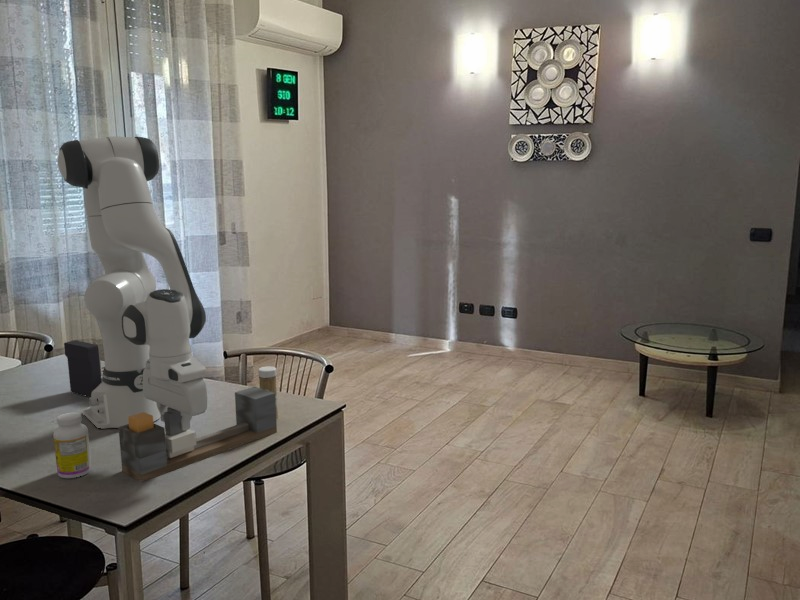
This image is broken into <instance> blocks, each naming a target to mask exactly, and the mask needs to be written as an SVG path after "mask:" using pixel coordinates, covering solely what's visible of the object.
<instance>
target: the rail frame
mask: <svg viewBox="0 0 800 600" xmlns="http://www.w3.org/2000/svg"><path fill="white" fill-rule="evenodd" d="M234 401H235V419H236V420H235V421H236V422H235V423H236V424H235V425H231V426H229V427H226V428H223V429H221V430H217V431H215V432H212V433H211V432H210V433H208V434H206V435H203V436H200V437H196V445H194V450H192V451H189V452H186V453H184V454H181V455H178V456H175V457H172V458H169V457H168V451H167V450H166V442H165V426H164V427H163V426H161V425H159V424H157V423H154V422H153V424H154V428H152V429H148V430H145V431H142V432H139V433H136V432H134V431H132V430H130V429H129V424H127V425H124V426H120V427H119V428H118V435H119V449H120V450H119V451H120V460H121V461H120V462H121V471H122V472H123V473H125V474H127V475H129V476H131V477H132V478H134V479H136V480H138V481H140V482H144V481H147V480H150V479H153V478H155V477H159V476H160V475H164V474H166V473H169V472H171V471H175V470H177V469H180V468H183V467H186V466H188V465H191V464H193V463H195V462H196V463H197V462H199V461H201V460H204V459H208V458H210V457H213V456H215V455H217V454H221V453H224V452H226V451H229V450H231V449H234V448H236V447H237V448H238V447H240V446H242V445H245V444H248V443H251V442H253V441H256V440H259V439H262V438H264V437H268V436H270V435H273V434H276V433H278V428H277V419H276V398H275V393H273V392H270V391H267V390H264V389H261V388H260V387H257V386H252V387H249V388H245V389H242V390H239V391H236V392H234ZM272 433H273V434H272Z"/></svg>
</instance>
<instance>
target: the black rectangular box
mask: <svg viewBox="0 0 800 600" xmlns="http://www.w3.org/2000/svg"><path fill="white" fill-rule="evenodd" d="M99 347H100V346H99V345H98V344H95V343H90V342H86V341H81V340H76V339H75V340H71V341H66V342H64V343H63V348H64V355H65V357H66V358H67V368H68V376H69V377H68V378H69V386H70V387H69V388H70V392H71V391H72V392H75V393H74V394H76V393H78V394H77V395H79V394H82V395H81V396H83V395H86V396H85V397H87V396H89V397H88V398H90V397H91V393H92V391H93V390H94V389H95V388H96V387H97V386H98V385H99V384H100V383H101V382H102V377H103V376H102V374H103V372H102V364H101V363H102V362H101V359H100V348H99ZM72 392H71V393H72Z"/></svg>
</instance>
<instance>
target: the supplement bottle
mask: <svg viewBox="0 0 800 600" xmlns="http://www.w3.org/2000/svg"><path fill="white" fill-rule="evenodd" d="M56 424H57V425H58V427H57V428H55V430H54V431H53V433H52V434H53V445H54V454H55V462H56V463H55V464H56V471H57V475H58V476H59V478H62V479H76V477H77V478H80V476H81V477H83V476H86V475H88V474H89V472H91V470H92V459H91V450H90V439H89V430H88V427H87V426H86V424H83V423H82V414H81V413H80V412H76V411H75V412H66V413H63V414H59V415H57V417H56Z"/></svg>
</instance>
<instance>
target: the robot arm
mask: <svg viewBox="0 0 800 600" xmlns="http://www.w3.org/2000/svg"><path fill="white" fill-rule="evenodd" d="M160 160H161V159H160V154H159V151H158V148H157V146H156V144H155V143H154V142H153V141H152V140H151V138H148V137H143V136H137V135H136V136H134V137H129V136H106V137H96V138H90V139H82V140H79V139H74V140H70V141H66V142H64V143H63V142H62V144H61V146H60V147H59V153H58V155H57V167H58V170H59V172H60V174H61V176H62V177H63V180H64V182H66V183H67V184H69V186H72V187H76V188H77V187H78V188H83V189H84V205H85V216H86V222H87V229H88V234H89V239H90V240H89V241H90V246H91V249H92V250H93V251H94V253H96V255H97V257H98V259H99V261H100V263H101V266H102V268H103V271H104V274H101V275H100V276H98V277H96V278H95V279H93V281H92V282H91V283H90V284H89V285H88V286H87V287H86V289H85V291H84V294H83V295H84V296H83V297H84V299H83V300H84V304H85V307H86V309H87V311H89V313H90V314H91V315H92V316H93V317H94V319H95V321H96V324H97V327H98V329H99V332H100V337H101V340H102V348H103V361H104V366H103V367H101V372H102V376H101V378H102V382H101V383H100V384H99V385H98V386H97V387H96V388H95V389H94V390H93V391H92V393H91V398H90V397H88V403H89V406H88V407H86V408H84V409H82V413H83V414H82V415H83V416H84V415H85V416H86V417H87V418H88V419H89V420H90V421H91V422H92V423H93V424H94V425H95V426H96V427H97V428H96V429H98V428H101V430H102V429H113V428H116V429H119V427H120V426H124V425H127V424H129V420H128V417H129V416H132V415H136V414H139V413H142V412H145V413H147V414H150V415H152V416H153V423H154V422H155V421H158V420H159V419H160V421H161V422H163V423H165V420H164V412H167V408H168V407H170V408H172V409H175V410H177V411H180V412H181V416H182V421H180V422H179V425H180V426H179V428H180V429H182V430H184V431H185V430H188V429H190V430H191V420H192V417H195V416H199V415H202V414H204V413H205V412H206V411H207V409H208V390H207V389H208V388H207V383H206V381H205V378H204V377H206V376H207V369H206V366H204V365H203V364H202V363H200V362H199V361H198V359H197V358H196V357H195V356H194V355H193V353H192V352H193V351H192V349H193V348H192V345H191V343H190V339H195V338H196V337H197V336H198V335H199V334H200V333H201V331H202V330H203V328H204V326H205V324H206V321H207V315H206V311H205V308H204V306H203V303H202V302H201V300H200V298H199V296H198V294H197V292H196V290H195V286H194V284H193V282H192V279H191V276H190V273H189V271H188V268H187V265H186V262H185V260H184V257H183V255H182V252H181V248H180V246H179V243H178V241H177V239H176V237H175V235H174V233H173V232H172V230H170V229H169V228H167V227H165V226H164V225H163V223H162V222H161V221H160V219H159V218H158V215H157V214H156V212H155V211H156V210H155V208H154V203H153V198H152V194H151V191H150V187H149V184H148V182H149V181H152V180H153V179H154V178H155V177H156V176H157V175H158V174H159V170H160V165H161V162H160ZM144 254H147V255H149V256H151V257H153V258H154V259H155V260H156V261H158V262H159V264H160V266H161V268H162V271H163V274H164V276H165V279H166V282H167V285H168V287H169V289H167V288H165V289H163V288H162V289H157V280H156V278H155V275H154V274H153V273H152V272H151V271H150V270H149V269H150V268H149V267H148V264H147V261H146V259H145V256H144ZM102 369H103V370H102ZM85 416H84V417H85ZM86 417H85V418H86ZM87 418H86V419H87ZM88 419H87V420H88ZM89 420H88V421H89ZM90 421H89V422H90ZM91 422H90V423H91ZM92 423H91V424H92ZM93 424H92V425H93ZM94 425H93V426H94ZM95 426H94V427H95Z"/></svg>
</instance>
